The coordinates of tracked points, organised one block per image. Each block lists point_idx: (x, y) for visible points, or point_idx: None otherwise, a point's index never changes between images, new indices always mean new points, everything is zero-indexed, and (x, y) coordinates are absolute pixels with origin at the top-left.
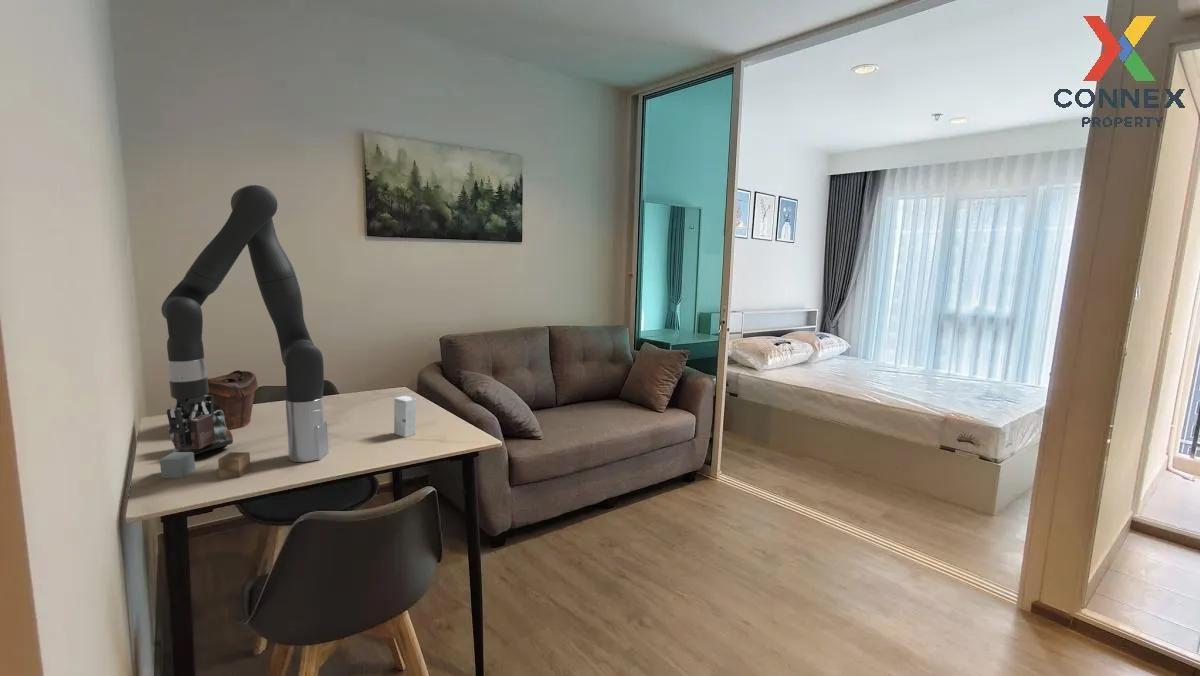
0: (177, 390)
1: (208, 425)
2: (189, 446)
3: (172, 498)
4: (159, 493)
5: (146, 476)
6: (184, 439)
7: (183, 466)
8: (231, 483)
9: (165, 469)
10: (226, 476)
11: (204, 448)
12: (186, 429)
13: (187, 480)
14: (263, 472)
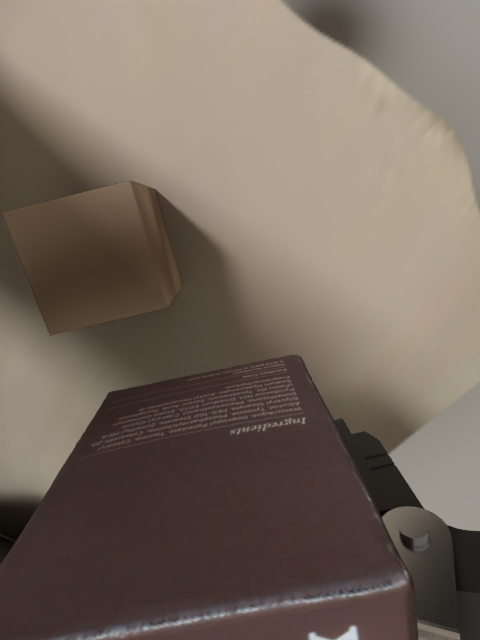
0: None
1: (140, 486)
2: (336, 420)
3: (414, 295)
4: (375, 384)
5: None
6: (399, 474)
7: None
8: (227, 170)
9: None
10: (171, 254)
11: (6, 544)
12: (450, 545)
13: None
14: (63, 114)
